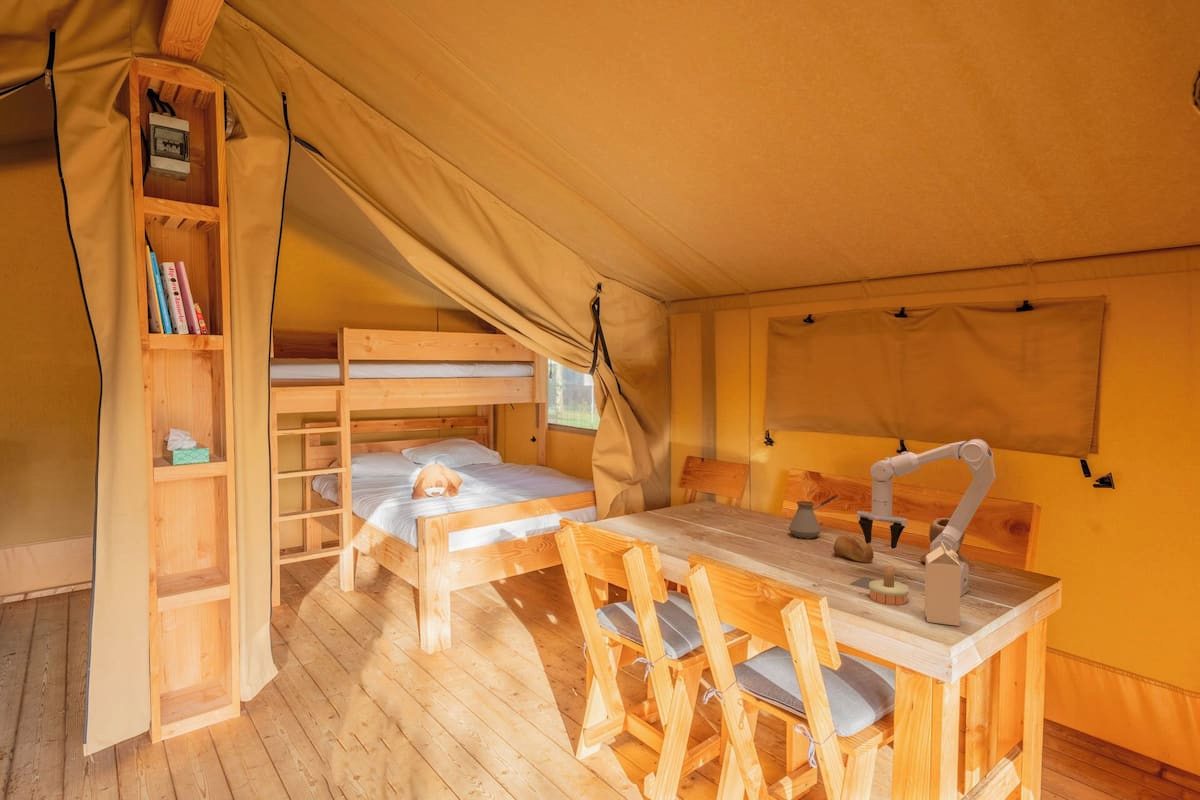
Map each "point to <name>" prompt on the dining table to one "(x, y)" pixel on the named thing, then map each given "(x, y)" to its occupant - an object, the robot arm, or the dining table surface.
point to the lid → (889, 584)
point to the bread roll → (853, 548)
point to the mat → (863, 582)
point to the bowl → (888, 598)
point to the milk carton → (942, 587)
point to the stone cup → (937, 529)
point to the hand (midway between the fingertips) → (880, 545)
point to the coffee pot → (806, 520)
